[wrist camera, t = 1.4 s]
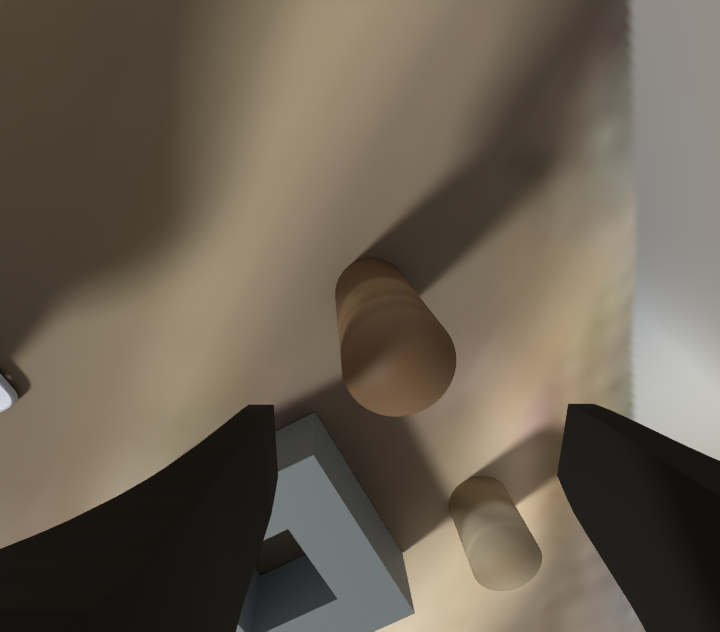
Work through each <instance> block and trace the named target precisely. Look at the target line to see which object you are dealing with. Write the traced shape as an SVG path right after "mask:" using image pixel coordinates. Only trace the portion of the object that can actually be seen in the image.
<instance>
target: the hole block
mask: <svg viewBox="0 0 720 632" xmlns="http://www.w3.org/2000/svg"><path fill="white" fill-rule="evenodd" d="M275 435H276V449H277V464H278V481H277V487H276V492H275V498H274V503H273V509H272V514H271V517H270V521H269V524H268V527H267V530H266V534H265V537H264V540H266V539H268V538H270V537H272V536H274V535H276V534H278V533H281V532H283V531H285V530H287V529H288V530H289V531H290V532H291V534H292V535H293V537H294V538H295V540H296V541H297V542H298V544H299V545H300V547H301V548H302V549H303V551H304V552H305V555H303V556H301V557H299V558H297V559H295V560H292V561H290V562H288V563H286V564H284V565H282V566H280V567H278V568H275V569H273V570H271V571H269V572H267V573H265V574H263V575H260V574H259V573H258V571H257V570H256V569H254V572H253V575H252V578H251V582H250V585H249V588H248V591H247V594H246V597H245V601H244V604H243V607H242V611H241V615H240V618H239V622H238V626H237V630H236V632H374V631H376V630H378V629H381V628H383V627H385V626H387V625H390V624H392V623H394V622H396V621H398V620H401V619H403V618H405V617H407V616H410V615H412V614H414V608H413V603H412V598H411V593H410V588H409V583H408V578H407V574H406V569H405V564H404V559H403V554H402V552H401V551H400V549H399V548H398V546H397V544H396V543H395V541H394V539H393V538H392V536H391V534H390V533H389V531H388V530H387V528H386V526H385V525H384V523H383V521H382V520H381V518H380V517H379V515H378V513H377V512H376V510H375V508H374V507H373V505H372V504H371V502H370V500H369V499H368V497H367V495H366V494H365V492H364V491H363V489H362V487H361V486H360V484H359V482H358V481H357V479H356V478H355V476H354V474H353V473H352V471H351V469H350V468H349V466H348V465H347V463H346V461H345V460H344V458H343V456H342V455H341V453H340V452H339V450H338V448H337V447H336V445H335V443H334V442H333V440H332V438H331V437H330V435H329V434H328V432H327V430H326V429H325V427H324V425H323V424H322V422H321V421H320V419H319V417H318V416H317V414H316V412H314V413H312V414H310V415H308V416H306V417H304V418H302V419H300V420H298V421H296V422H294V423H292V424H290V425H288V426H286V427H283V428H281V429H279V430H277V431H275ZM264 540H263V541H264Z"/></svg>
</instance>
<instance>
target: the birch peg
mask: <svg viewBox="0 0 720 632" xmlns="http://www.w3.org/2000/svg"><path fill="white" fill-rule="evenodd" d="M449 510H450V513H451V516H452V518H453V521H454V524H455V526H456V529H457V532H458V534H459V537H460V540H461V542H462V545H463V548H464V551H465V553H466V556H467V559H468V561H469V564H470V567H471V569H472V572H473V575H474V577H475V579H476V580H477V581H478V583H479V584H481V585H482V586H484V587H485V588H488V589H490V590H495V591H507V590H512V589H516V588H518V587H520V586H522V585H524V584H526V583H527V582H529V581H530V580H531V579H532V578H533V577H534V576H535V575H536V574H537V572H538V570H539V568H540V566H541V563H542V553H541V550H540V548H539V546H538V544H537V543H536V541H535V539H534V538H533V536H532V534H531V532H530V531H529V529H528V527H527V525H526V524H525V522H524V520H523V518H522V517H521V515H520V513H519V512H518V510H517V508H516V506H515V505H514V503H513V501H512V499H511V498H510V496H509V494H508V492H507V491H506V489H505V487H504V486H503V485H502V484H501V483H500V482H499V481H497V480H496V479H494V478H490V477H483V476H482V477H474V478H471V479H468V480H466V481H464V482H463V483H461V484H460V485H459V486H457V487H456V489H455V490H454V491H453V493H452V495H451V497H450V500H449Z"/></svg>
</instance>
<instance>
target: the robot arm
mask: <svg viewBox="0 0 720 632" xmlns="http://www.w3.org/2000/svg"><path fill="white" fill-rule="evenodd" d="M17 399H18V396H17V393H16V391H15V390H14V389H13V388H12V387H11V385H10V384H9V383H8V382H7V381H6V379H5V378H4V377H3V376H2V375H1V374H0V412H2V411H4V410H6V409H8V408H9V407H11V406H12V405H13V404H15V403H16V402H17ZM557 476H558V478H559V481H560V483H561V485H562V488H563V490H564V492H565V495H566V497H567V499H568V501H569V503H570V506H571V508H572V510H573V512H574V514H575V515H576V517H577V519H578V521H579V522H580V524H581V526H582V527H583V529H584V530H585V532H586V534H587V535H588V537H589V539H590V540H591V542H592V543H593V545H594V547H595V548H596V550H597V551H598V553H599V555H600V556H601V558H602V559H603V561H604V563H605V564H606V566H607V567H608V569H609V571H610V572H611V574H612V575H613V577H614V579H615V580H616V582H617V583H618V585H619V587H620V588H621V590H622V591H623V593H624V595H625V596H626V598H627V599H628V601H629V602H630V604H631V606H632V608H633V609H634V611H635V613H636V615H637V616H638V618H639V620H640V622H641V623H642V625H643V627H644V629H645V631H646V632H720V461H719V460H716V459H714V458H712V457H709V456H707V455H705V454H703V453H700V452H698V451H696V450H694V449H692V448H689V447H687V446H685V445H683V444H681V443H679V442H676V441H674V440H672V439H670V438H668V437H666V436H664V435H662V434H660V433H658V432H656V431H654V430H652V429H649V428H647V427H645V426H643V425H641V424H639V423H637V422H635V421H633V420H631V419H629V418H626V417H624V416H622V415H620V414H618V413H615V412H613V411H611V410H608V409H606V408H603V407H601V406H598V405H595V404H568V409H567V416H566V422H565V428H564V435H563V441H562V448H561V454H560V460H559V467H558V473H557ZM277 481H278V464H277V449H276V435H275V420H274V405H248V406H246V407H245V408H243V409H242V410H241V411H240V412H238V413H237V414H236V415H235V416H233V417H232V418H231V419H230V420H228V421H227V422H226V423H225V424H223V425H222V426H221V427H220V428H218V429H217V430H216V431H215V432H213V433H212V434H211V435H210V436H208V437H207V438H206V439H204V440H203V441H202V442H201V443H199V444H198V445H197V446H195V447H194V448H192V449H191V450H190V451H188V452H187V453H185V454H184V455H182V456H181V457H180V458H178V459H177V460H175V461H174V462H173V463H171V464H170V465H168V466H167V467H165V468H164V469H162V470H161V471H159V472H158V473H156V474H155V475H153V476H151V477H150V478H148V479H147V480H145V481H143V482H141V483H140V484H138V485H136V486H135V487H133V488H131V489H129V490H128V491H126V492H124V493H122V494H121V495H119V496H117V497H115V498H113V499H111V500H109V501H107V502H105V503H103V504H101V505H99V506H97V507H95V508H93V509H91V510H89V511H87V512H85V513H83V514H81V515H79V516H77V517H75V518H73V519H71V520H69V521H66V522H64V523H62V524H60V525H57V526H55V527H53V528H51V529H48V530H46V531H44V532H41V533H39V534H37V535H34V536H32V537H29V538H27V539H24V540H22V541H19V542H17V543H14V544H12V545H9V546H7V547H4V548H2V549H0V632H236V630H237V626H238V622H239V618H240V615H241V611H242V607H243V604H244V601H245V597H246V594H247V591H248V588H249V585H250V582H251V578H252V575H253V572H254V569H255V566H256V563H257V559H258V556H259V553H260V550H261V547H262V543H263V540H264V537H265V534H266V530H267V527H268V524H269V521H270V517H271V514H272V509H273V503H274V498H275V492H276V487H277Z"/></svg>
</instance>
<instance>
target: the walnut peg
mask: <svg viewBox="0 0 720 632" xmlns="http://www.w3.org/2000/svg"><path fill="white" fill-rule="evenodd" d="M335 297H336V308H337V320H338V331H339V342H340V353H341V364H342V373H343V379H344V382H345V385H346V387H347V389H348V391H349V392H350V394H351V395H352V397H353V398H354V399H355V400H356V401H357V402H358V403H359V404H360V405H362V406H363V407H365V408H366V409H368V410H370V411H372V412H374V413H377V414H380V415H385V416H394V417H396V416H406V415H411V414H415V413H418V412H420V411H422V410H424V409H426V408H428V407H430V406H431V405H432V404H434V403H435V402H436V401H437V400H438V399H440V398H441V396H442V395H443V394H444V393H445V392H446V390H447V389H448V387H449V385H450V383H451V381H452V379H453V376H454V373H455V368H456V352H455V348H454V344H453V342H452V339H451V338H450V336H449V334H448V333H447V331H446V330H445V329H444V327H443V326H442V325H441V324H440V322H439V321H438V320H437V318H436V317H435V316H434V315H433V313H432V312H431V311H430V310H429V308H428V307H427V306H426V305H425V303H424V302H423V301H422V299H421V298H420V297H419V296H418V294H417V293H416V292H415V291H414V289H413V288H412V287H411V285H410V284H409V283H408V282H407V280H406V279H405V278H404V277H403V275H402V274H401V273H400V271H399V270H398V269H397V268H396V267H395V266H393V265H392V264H391V263H389V262H387V261H385V260H382V259H377V258H367V259H362V260H359V261H357V262H354V263H353V264H351V265H350V266H349V267H347V268H346V269H345V270H344V271H343V273H342V274H341V276H340V277H339V279H338V282H337V285H336V291H335Z"/></svg>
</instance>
